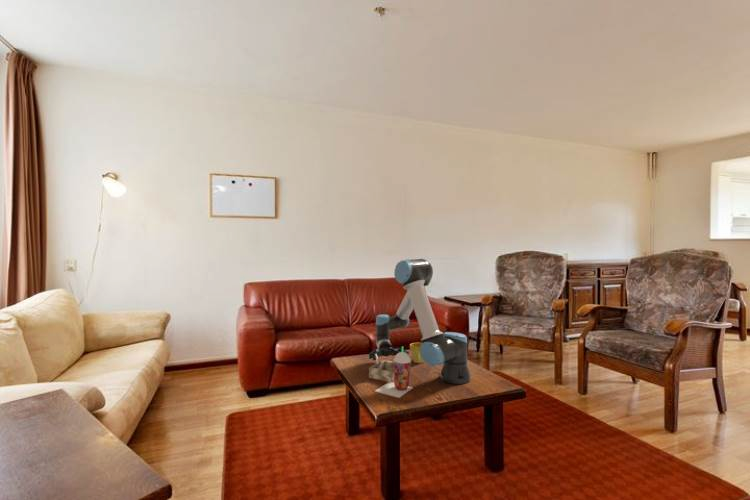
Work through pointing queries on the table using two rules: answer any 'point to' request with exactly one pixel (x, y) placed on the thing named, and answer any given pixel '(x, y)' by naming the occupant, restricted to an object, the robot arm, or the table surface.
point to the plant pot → (416, 352)
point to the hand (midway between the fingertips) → (391, 360)
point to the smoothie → (401, 370)
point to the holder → (382, 371)
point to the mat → (392, 390)
